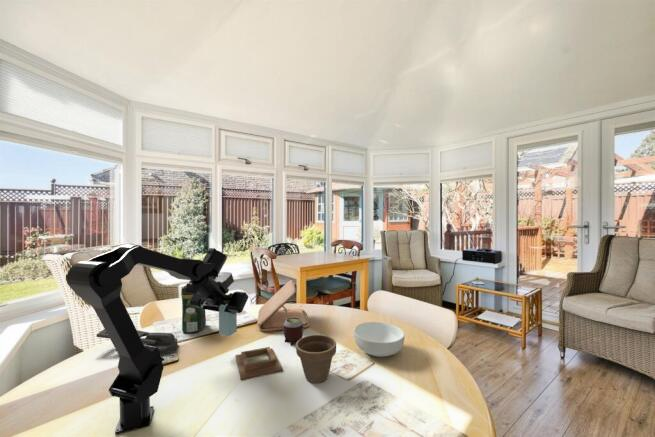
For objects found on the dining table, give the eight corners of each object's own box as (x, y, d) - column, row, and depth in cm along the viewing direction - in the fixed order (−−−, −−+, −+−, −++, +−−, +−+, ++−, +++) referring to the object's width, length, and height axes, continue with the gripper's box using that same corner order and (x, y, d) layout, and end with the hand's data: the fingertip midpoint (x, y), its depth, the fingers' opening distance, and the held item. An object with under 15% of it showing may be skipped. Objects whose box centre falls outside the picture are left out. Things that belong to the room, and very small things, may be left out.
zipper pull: (113, 324, 106) (181, 325, 105) (113, 342, 107) (181, 343, 105) (92, 334, 97) (166, 336, 96) (93, 354, 98) (166, 356, 96)
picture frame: (282, 370, 87) (282, 362, 87) (240, 380, 83) (240, 371, 83) (272, 350, 100) (272, 342, 100) (235, 357, 96) (235, 349, 96)
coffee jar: (188, 324, 123) (187, 280, 122) (208, 323, 123) (207, 279, 123) (178, 334, 113) (177, 286, 112) (199, 333, 114) (199, 285, 113)
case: (259, 314, 135) (258, 280, 134) (304, 311, 138) (304, 277, 138) (256, 333, 114) (256, 293, 114) (310, 329, 118) (310, 290, 117)
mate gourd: (304, 337, 110) (304, 298, 109) (300, 347, 102) (300, 305, 101) (284, 337, 110) (284, 297, 110) (279, 346, 103) (279, 304, 102)
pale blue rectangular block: (229, 336, 96) (229, 296, 95) (218, 334, 97) (218, 295, 96) (236, 331, 99) (236, 293, 99) (226, 329, 101) (226, 292, 100)
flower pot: (299, 392, 77) (299, 355, 77) (293, 369, 88) (292, 336, 88) (341, 385, 80) (341, 349, 80) (330, 364, 91) (330, 332, 91)
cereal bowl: (381, 370, 88) (381, 347, 87) (343, 350, 101) (343, 329, 100) (414, 352, 98) (414, 332, 98) (376, 336, 111) (376, 317, 111)
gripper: (244, 267, 91) (263, 293, 102) (195, 263, 97) (218, 288, 107) (229, 300, 84) (250, 324, 94) (177, 294, 89) (203, 317, 100)
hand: (230, 312), depth 99 cm, fingers closed on pale blue rectangular block, 4 cm apart
